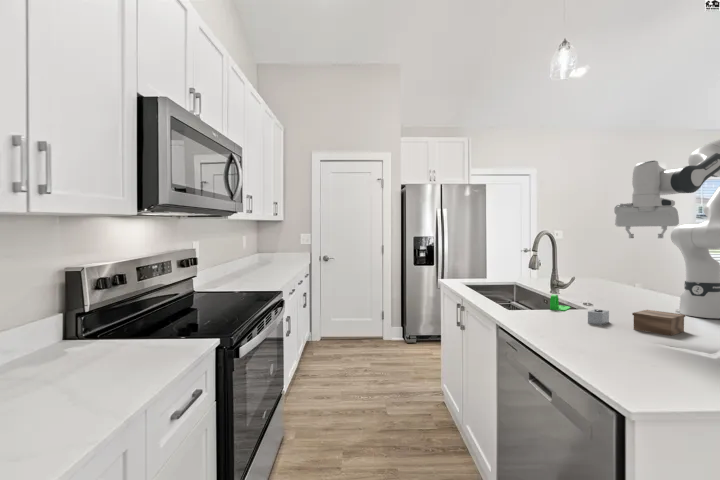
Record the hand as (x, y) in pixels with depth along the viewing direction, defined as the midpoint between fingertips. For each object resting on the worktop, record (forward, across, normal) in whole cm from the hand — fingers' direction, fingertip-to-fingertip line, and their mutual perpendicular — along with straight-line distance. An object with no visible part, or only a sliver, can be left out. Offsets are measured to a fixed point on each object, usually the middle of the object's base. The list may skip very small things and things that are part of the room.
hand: (645, 238), depth 158 cm
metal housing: (+33, -16, -9) cm, 38 cm away
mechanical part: (+34, -29, +14) cm, 47 cm away
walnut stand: (+33, +2, -12) cm, 35 cm away
